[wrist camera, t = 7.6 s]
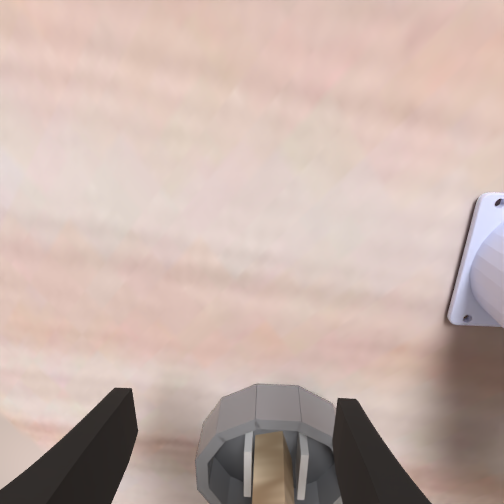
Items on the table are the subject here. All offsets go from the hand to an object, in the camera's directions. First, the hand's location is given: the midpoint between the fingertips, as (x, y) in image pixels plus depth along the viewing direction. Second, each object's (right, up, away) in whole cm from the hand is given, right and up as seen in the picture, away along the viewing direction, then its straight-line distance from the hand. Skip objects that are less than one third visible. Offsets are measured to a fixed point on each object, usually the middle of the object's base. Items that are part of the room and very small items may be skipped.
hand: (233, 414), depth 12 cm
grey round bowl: (+2, -8, +14) cm, 16 cm away
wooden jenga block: (+2, -9, +13) cm, 16 cm away
